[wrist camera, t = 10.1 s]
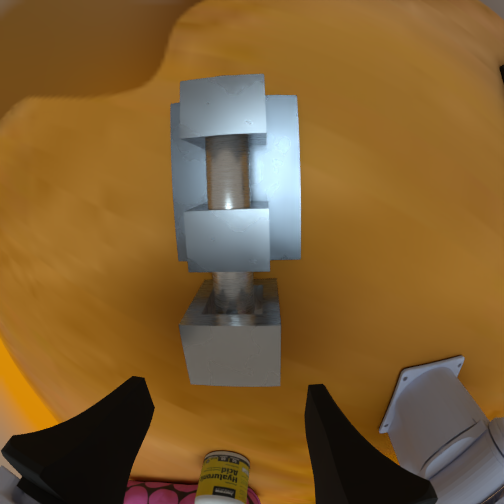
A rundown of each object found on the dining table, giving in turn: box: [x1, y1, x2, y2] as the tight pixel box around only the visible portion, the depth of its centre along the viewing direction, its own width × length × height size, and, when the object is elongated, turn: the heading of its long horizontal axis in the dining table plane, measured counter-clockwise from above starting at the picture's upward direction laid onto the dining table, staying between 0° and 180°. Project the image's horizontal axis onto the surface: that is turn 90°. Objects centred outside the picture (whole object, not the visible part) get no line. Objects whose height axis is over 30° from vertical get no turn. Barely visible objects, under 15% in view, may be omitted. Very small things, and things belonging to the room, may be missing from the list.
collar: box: [179, 278, 281, 387], centre depth 16 cm, size 4×5×6 cm
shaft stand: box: [171, 74, 301, 315], centre depth 15 cm, size 16×8×5 cm, turn 2°
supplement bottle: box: [195, 451, 250, 504], centre depth 21 cm, size 5×5×10 cm
